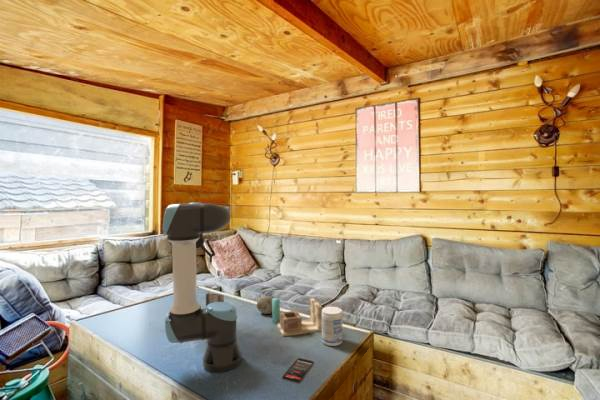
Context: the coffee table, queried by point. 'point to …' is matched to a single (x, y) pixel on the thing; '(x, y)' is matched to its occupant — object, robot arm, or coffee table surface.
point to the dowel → (275, 310)
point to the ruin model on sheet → (213, 298)
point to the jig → (308, 321)
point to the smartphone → (298, 370)
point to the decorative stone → (265, 304)
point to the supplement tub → (332, 326)
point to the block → (290, 321)
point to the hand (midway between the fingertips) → (196, 269)
